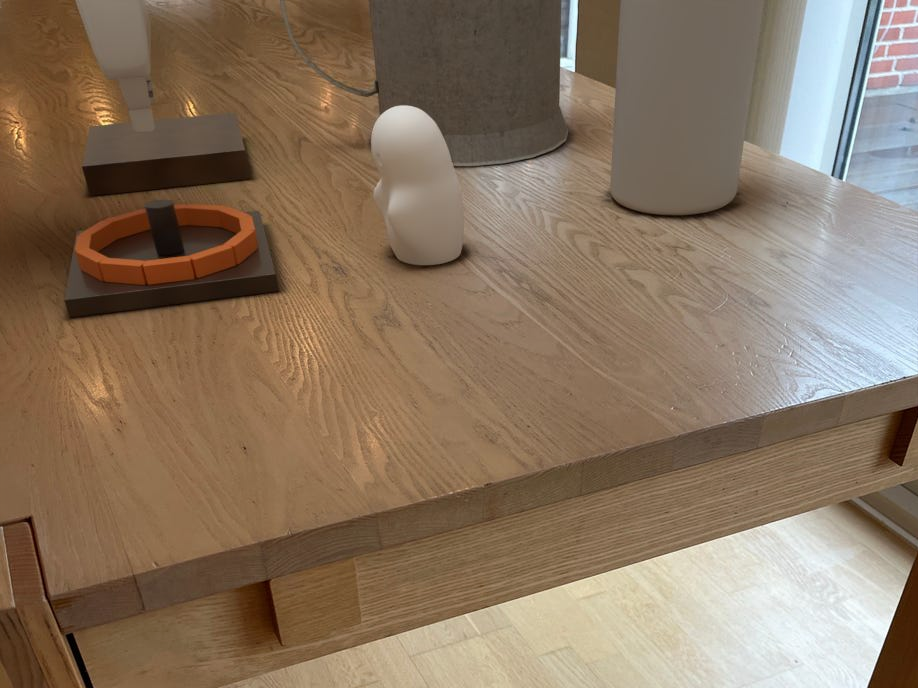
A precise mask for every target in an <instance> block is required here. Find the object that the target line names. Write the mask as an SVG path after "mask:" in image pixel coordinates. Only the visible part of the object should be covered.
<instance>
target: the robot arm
mask: <svg viewBox="0 0 918 688" xmlns="http://www.w3.org/2000/svg"><path fill="white" fill-rule="evenodd" d="M74 1H75V4H76V6H77V9H78V12H79V15H80V18H81V21H82V23H83V27H84V30H85V32H86V36H87V39H88V41H89V43H90V46H91V49H92V52H93V54H94V56H95V59H96V61H97V64H98V66H99V67H100V68H99V69H100V70H101V72H102V74H103V76H104V77H105V78H106V79H107V80H109V81H112V80H113V81H114V80H117V83H118V88H119V90H120V93H121V95H122V98H123V100H124V103H125V105H126V108H127V111H128V115H129V118H130V122H132V126H133V129H134V130H135V131H136V132H138V133H141V132H151V131H153V130H154V129H155V120H156V119H155V117H154V111H153V108H152V106H153V105H154V104H155V101H156V94H155V90H154V86H153V83H152V78H151V71H152V70H151V69H152V67H151V66H152V65H151V61H152V60H151V59H152V25H151V19H150V15H149V11H148V6H147V1H146V0H74Z"/></svg>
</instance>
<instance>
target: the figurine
mask: <svg viewBox="0 0 918 688" xmlns="http://www.w3.org/2000/svg"><path fill="white" fill-rule="evenodd" d="M370 151H371V157H372V160H373V163H374V165H375V167H376V169H377V171H378V174H379V175H380V178H379V181H378V182H377V184H376V185H375V188H374V189H373V201H374V203H375V206H376V208H377V210H378V212H379V214H380V215H381V217H382V219H383V221H384V223H385V229H386V235H387V239H388V242H389V245H390V248H391V250H392V252H393V254H394V255H395V257H396V259H397V260H398V261H400V262H403V263H405V264H409V265H414V266H435V265H440V264H446V263H448V262H449V263H450V262H451V261H454V260H456V259H457V258H458V257H460V256H461V254H462V250H463V244H464V235H465V208H464V200H463V194H462V188H461V185H460V181H459V179H458V178H459V177H458V175H457V172H456V169H455V166H453V163H452V160H451V156H450V153H449V150H448V147H447V144H446V142H445V140H444V138H443V135H442V133H441V131H440V129H439V128H438V126H437V124H436V123H435V122H434V120H433V119H432V118H431V117H430V116H429V115H427V114H426V113H425V112H424V111H422V110H421V109H419V108H416V107H413V106H406V105H401V106H395V107H392V108H390V109H388V110H386V111H385V112H384V113H382V114H381V115H380V117H379V116H378V117H377V119H376V121H375V123H374V125H373V128H372V132H371V137H370Z"/></svg>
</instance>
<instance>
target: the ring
mask: <svg viewBox="0 0 918 688" xmlns="http://www.w3.org/2000/svg"><path fill="white" fill-rule="evenodd" d="M174 207H175V212H176V216H177V220H178V225H179V226H186V225H193V226H208V227H222V228H224V229H227V230H229V231H232V232H234V233H236V235H235V236H234V237H232V238H231V239H230V240H228V241H227V242H226V243H225V244H223V245H220V246H217V247H214V248H211V249H208V250H205V251H201V252H198V253H195V254H192V255H189V256H181V257H173V258H164V259H156V260H148V261H142V260H129V259H117V258H108V257H106V256H104V255H102V254H100V253H98V251H100V250H102V249H103V248H105V247H106V246H108V245H109V244H111V243H112V242H114V241H115V240H117V239H120V238H124V237H127V236H130V235H134V234H137V233H140V232H144V231H147V230H151V229H150V225H149V221H148V217H147V213H146V209H145V208H144V209H143V208H141V209H136V210H132V211H129V212H125V213H122V214H118V215H115V216H112V217H108V218H105V219H103V220H100V221H99V222H97V223H95V224H93V225H92V226H91V227H88V228H87V229H84V230H85V231H84V232H82V233H80V234H79V236H77V241H76V246H75V253H76V257H77V260H78V263H79V266H80V269H81V270H82V271H84V272H86V273H88V274H90V275H91V276H93V277H95V278H97V279H99V280H101V281H105V282H114V283H125V284H137V285H146V284H147V283H148V285H152V284H161V283H169V282H177V281H185V280H193V279H195V277H196V278H201V277H204V276H207V275H210V274H213V273H216V272H219V271H222V270H225V269H228V268H231V267H234V266H236V264H237V265H238V264H240V263H241V262H242V261H243V260H245V259H246V258H247V257H248V256H250V255H251V254H252V253H253V252H254V251H256V250H257V248H258V243H257V237H256V232H255V227H254V223H253V218H252V216H251V215H249V214H246V213H244V212H245V211H241V210H238V209H235V208H234V207H230V206H226V205H215V204H199V203H188V204H187V203H181V204H174Z"/></svg>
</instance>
